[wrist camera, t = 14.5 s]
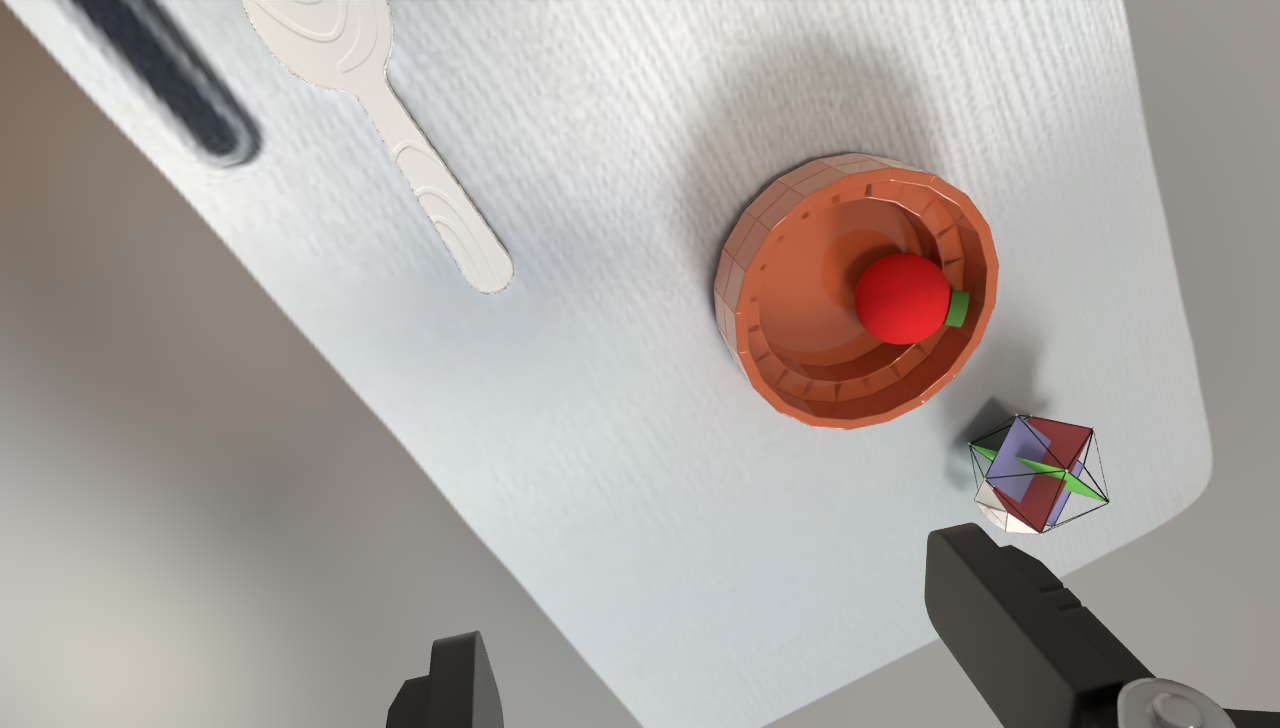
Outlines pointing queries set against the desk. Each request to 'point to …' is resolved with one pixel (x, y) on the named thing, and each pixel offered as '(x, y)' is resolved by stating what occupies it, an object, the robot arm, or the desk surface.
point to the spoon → (381, 113)
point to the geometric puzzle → (1034, 474)
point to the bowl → (847, 288)
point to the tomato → (907, 299)
